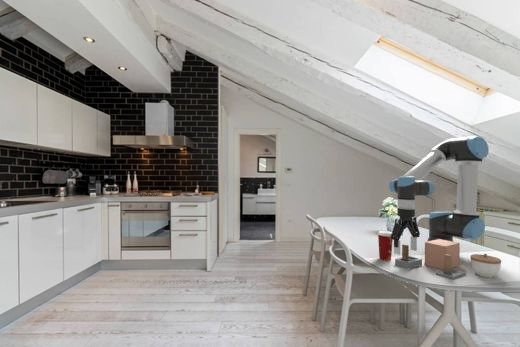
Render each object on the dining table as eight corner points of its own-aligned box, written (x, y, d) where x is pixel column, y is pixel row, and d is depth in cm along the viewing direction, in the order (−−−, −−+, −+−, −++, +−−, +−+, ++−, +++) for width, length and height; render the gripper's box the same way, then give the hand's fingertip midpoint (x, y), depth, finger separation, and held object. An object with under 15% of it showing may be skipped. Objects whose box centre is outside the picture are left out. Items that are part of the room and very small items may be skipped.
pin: (404, 264, 139) (404, 244, 139) (409, 266, 136) (409, 245, 136) (400, 265, 137) (400, 244, 137) (406, 267, 135) (406, 246, 135)
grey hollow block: (408, 261, 144) (408, 255, 144) (421, 265, 138) (422, 259, 138) (395, 264, 138) (395, 258, 138) (408, 269, 132) (408, 262, 132)
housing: (439, 260, 146) (439, 239, 146) (459, 265, 138) (459, 242, 138) (424, 264, 139) (424, 242, 139) (445, 270, 131) (445, 246, 131)
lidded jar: (507, 280, 119) (507, 258, 119) (478, 278, 121) (479, 256, 121) (491, 271, 130) (491, 251, 130) (465, 270, 131) (465, 250, 131)
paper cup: (395, 261, 143) (395, 234, 143) (378, 260, 145) (379, 233, 144) (391, 257, 151) (391, 231, 151) (375, 256, 152) (376, 230, 152)
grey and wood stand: (448, 270, 131) (448, 250, 131) (465, 274, 125) (465, 254, 125) (435, 274, 125) (436, 254, 125) (453, 279, 120) (453, 258, 119)
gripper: (413, 206, 146) (412, 246, 146) (382, 208, 133) (382, 253, 133) (428, 207, 140) (427, 250, 140) (397, 210, 127) (397, 257, 127)
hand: (405, 252), depth 136 cm, fingers open, 13 cm apart
